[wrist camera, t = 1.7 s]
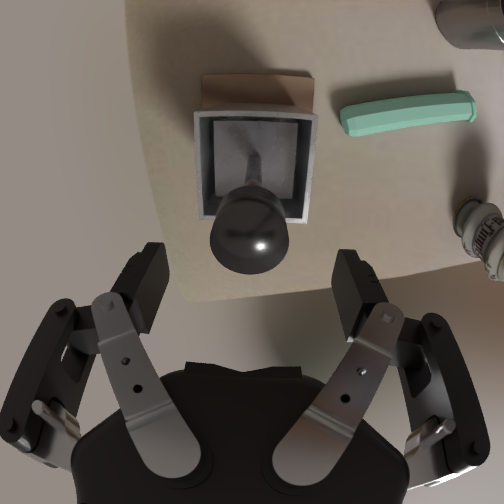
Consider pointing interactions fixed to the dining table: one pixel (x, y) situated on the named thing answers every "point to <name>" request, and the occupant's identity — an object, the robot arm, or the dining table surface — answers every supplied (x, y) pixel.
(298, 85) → the walnut board
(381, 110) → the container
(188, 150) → the dining table surface
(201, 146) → the square mug
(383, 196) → the dining table surface
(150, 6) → the dining table surface
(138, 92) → the dining table surface
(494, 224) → the apothecary jar
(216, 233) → the plunger
